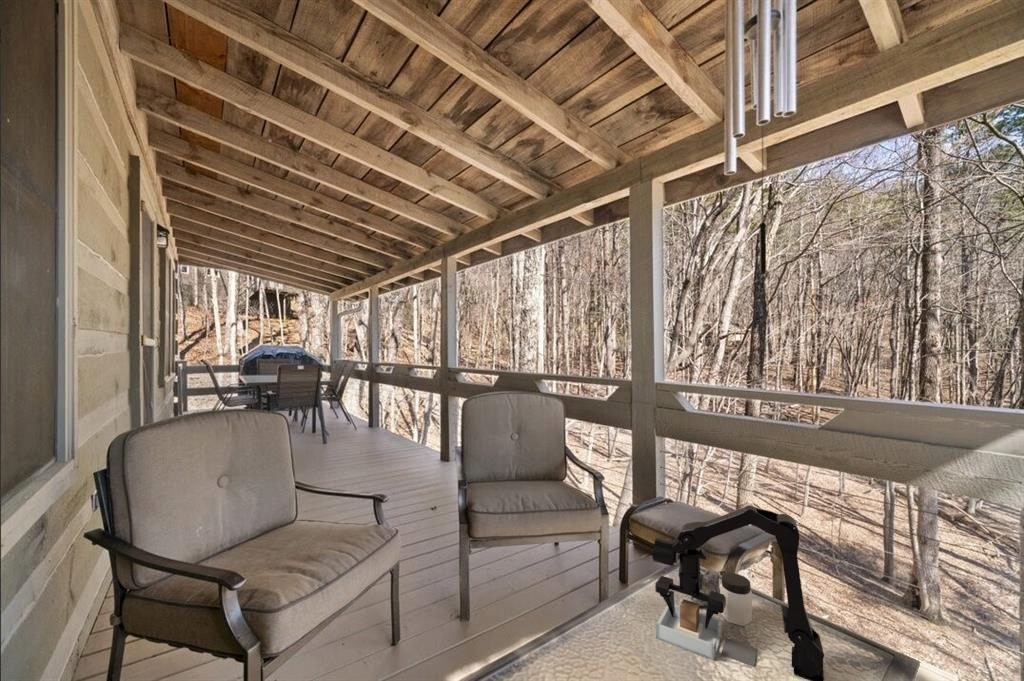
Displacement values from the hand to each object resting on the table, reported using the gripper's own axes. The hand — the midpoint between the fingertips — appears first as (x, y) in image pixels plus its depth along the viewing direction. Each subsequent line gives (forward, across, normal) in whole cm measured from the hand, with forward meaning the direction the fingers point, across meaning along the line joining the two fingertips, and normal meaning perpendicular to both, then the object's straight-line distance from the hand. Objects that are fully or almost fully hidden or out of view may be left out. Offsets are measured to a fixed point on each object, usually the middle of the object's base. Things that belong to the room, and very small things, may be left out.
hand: (689, 622), depth 127 cm
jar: (+4, -10, -18) cm, 21 cm away
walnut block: (+1, 0, 0) cm, 1 cm away
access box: (+4, 0, 0) cm, 4 cm away
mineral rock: (+4, 0, -22) cm, 23 cm away
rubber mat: (+4, -13, -1) cm, 14 cm away
